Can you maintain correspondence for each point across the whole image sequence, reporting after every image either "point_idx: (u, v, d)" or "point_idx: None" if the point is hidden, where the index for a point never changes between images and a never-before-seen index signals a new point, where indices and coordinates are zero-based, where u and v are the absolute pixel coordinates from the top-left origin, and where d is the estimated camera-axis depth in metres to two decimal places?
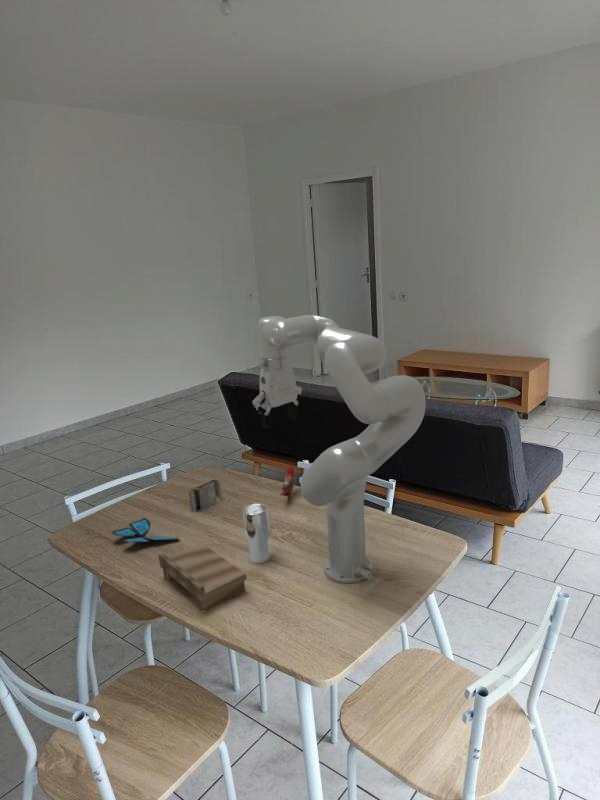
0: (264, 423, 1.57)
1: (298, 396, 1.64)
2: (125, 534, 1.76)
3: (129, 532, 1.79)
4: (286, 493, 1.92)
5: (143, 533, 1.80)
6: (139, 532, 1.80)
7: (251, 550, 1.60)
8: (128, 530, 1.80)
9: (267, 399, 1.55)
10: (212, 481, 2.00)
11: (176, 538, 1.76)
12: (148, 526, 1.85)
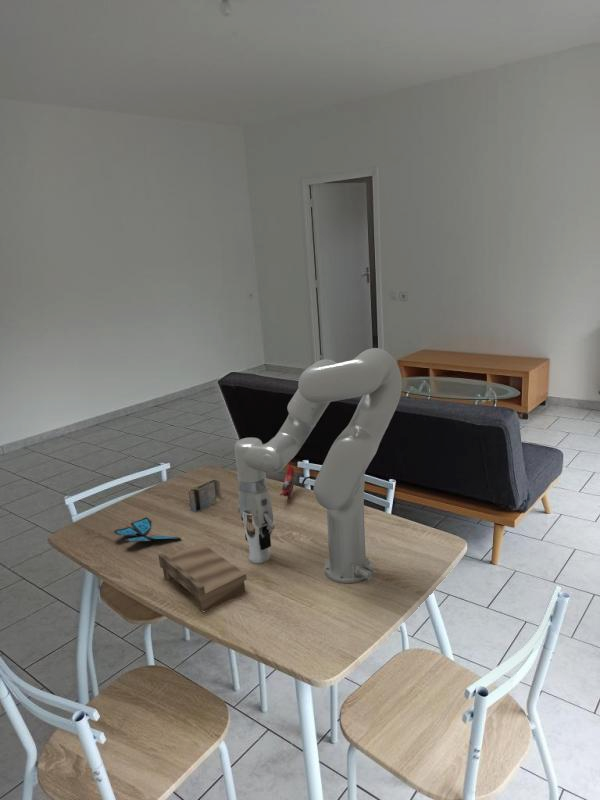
0: (268, 543, 1.57)
1: None
2: (127, 533, 1.77)
3: (131, 531, 1.79)
4: (286, 493, 1.92)
5: (145, 532, 1.80)
6: (141, 531, 1.80)
7: (251, 550, 1.60)
8: (130, 529, 1.80)
9: (270, 517, 1.56)
10: (212, 481, 2.00)
11: (178, 537, 1.76)
12: (150, 525, 1.86)
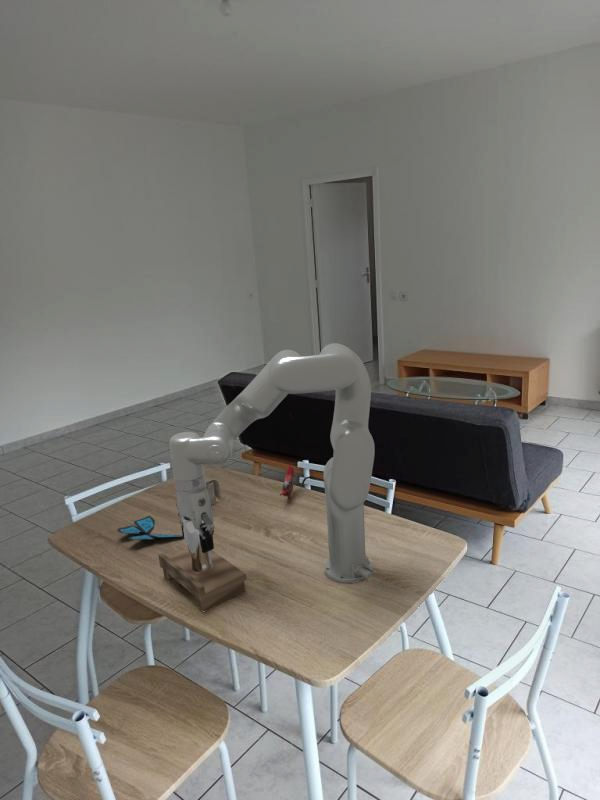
0: (210, 546, 1.44)
1: None
2: (130, 532, 1.78)
3: (134, 529, 1.80)
4: (286, 493, 1.92)
5: (148, 531, 1.81)
6: (144, 530, 1.81)
7: (192, 560, 1.47)
8: (133, 528, 1.81)
9: (209, 518, 1.43)
10: (211, 481, 2.00)
11: (181, 536, 1.77)
12: (153, 523, 1.87)
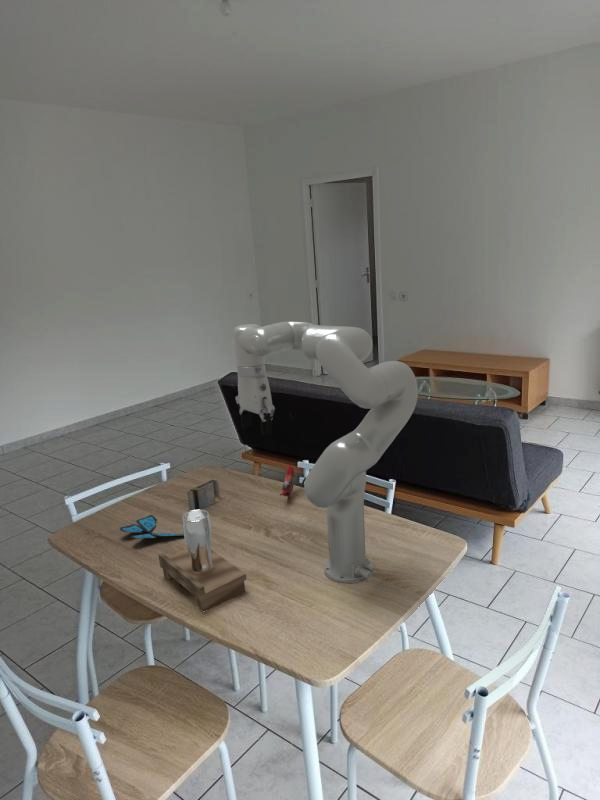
0: (269, 429, 1.57)
1: None
2: (132, 530, 1.78)
3: (136, 528, 1.80)
4: (286, 493, 1.92)
5: (150, 530, 1.82)
6: (146, 529, 1.81)
7: (192, 560, 1.47)
8: (136, 527, 1.82)
9: None
10: (211, 481, 2.00)
11: (183, 534, 1.78)
12: (155, 522, 1.87)
